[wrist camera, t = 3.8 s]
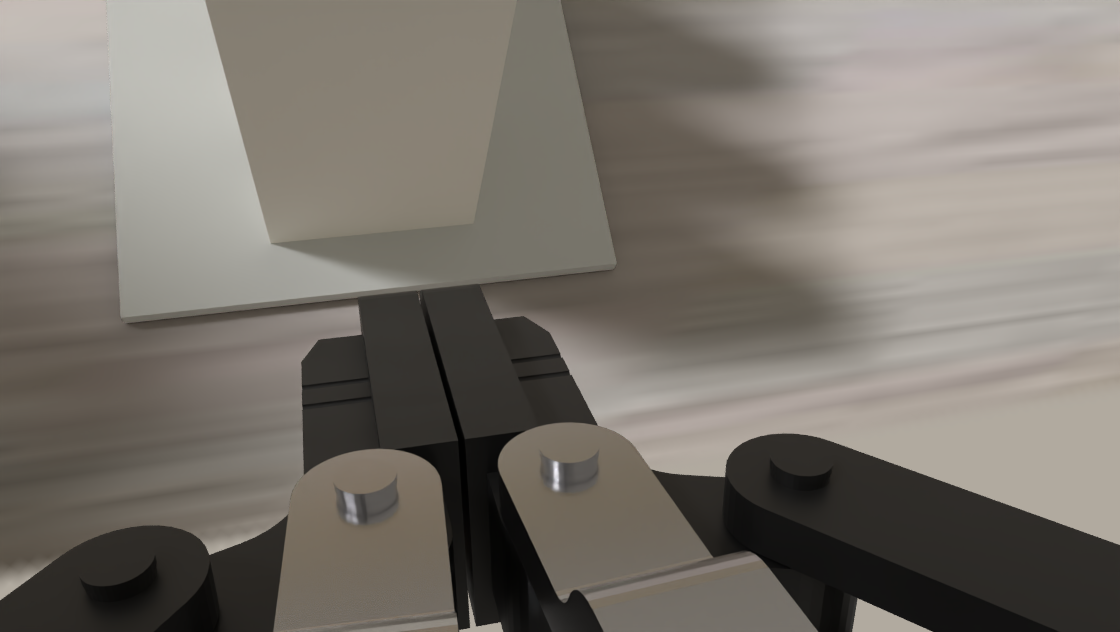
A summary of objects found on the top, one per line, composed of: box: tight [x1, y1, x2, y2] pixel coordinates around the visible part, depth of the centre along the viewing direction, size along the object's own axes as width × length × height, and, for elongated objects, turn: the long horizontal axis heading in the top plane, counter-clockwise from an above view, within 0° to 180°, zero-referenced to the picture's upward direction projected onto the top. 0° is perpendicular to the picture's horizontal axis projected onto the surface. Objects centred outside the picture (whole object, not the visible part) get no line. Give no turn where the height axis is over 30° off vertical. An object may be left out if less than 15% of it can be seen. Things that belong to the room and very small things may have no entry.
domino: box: [205, 0, 517, 243], centre depth 20 cm, size 5×2×10 cm, turn 101°
